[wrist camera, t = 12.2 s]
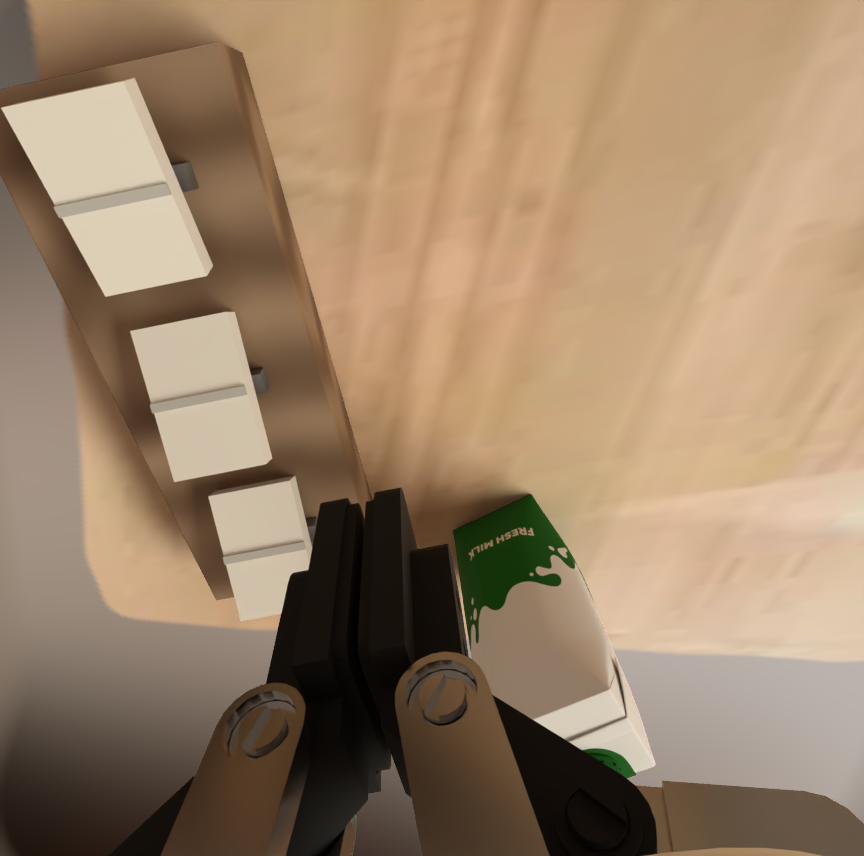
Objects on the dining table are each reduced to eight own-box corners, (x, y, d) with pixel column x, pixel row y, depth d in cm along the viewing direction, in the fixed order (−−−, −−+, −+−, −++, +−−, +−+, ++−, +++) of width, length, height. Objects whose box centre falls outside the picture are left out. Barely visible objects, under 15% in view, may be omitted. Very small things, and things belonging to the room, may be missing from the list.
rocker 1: (17, 103, 25) (-2, 108, 23) (134, 77, 24) (121, 81, 23) (115, 285, 30) (104, 298, 28) (213, 265, 29) (206, 277, 28)
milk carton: (486, 596, 50) (538, 856, 32) (437, 525, 46) (466, 779, 28) (578, 555, 48) (687, 805, 31) (536, 478, 44) (633, 715, 27)
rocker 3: (216, 490, 37) (206, 497, 35) (295, 475, 37) (288, 481, 35) (247, 611, 38) (239, 622, 37) (323, 597, 38) (319, 607, 36)
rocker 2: (143, 330, 32) (127, 331, 30) (234, 311, 31) (224, 311, 30) (184, 475, 33) (172, 483, 32) (272, 458, 33) (264, 465, 31)
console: (16, 101, 30) (-61, 98, 25) (242, 53, 30) (211, 39, 25) (228, 554, 46) (207, 611, 41) (379, 526, 45) (378, 579, 40)
